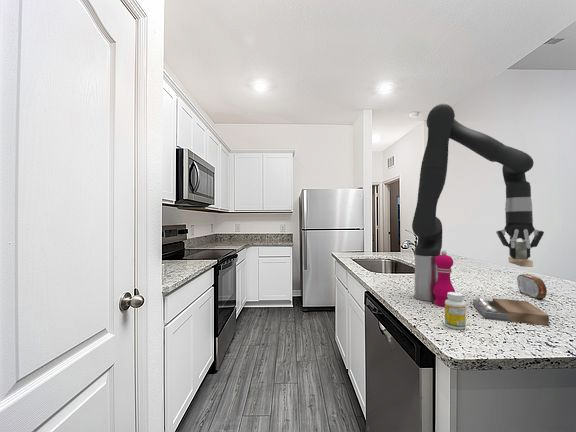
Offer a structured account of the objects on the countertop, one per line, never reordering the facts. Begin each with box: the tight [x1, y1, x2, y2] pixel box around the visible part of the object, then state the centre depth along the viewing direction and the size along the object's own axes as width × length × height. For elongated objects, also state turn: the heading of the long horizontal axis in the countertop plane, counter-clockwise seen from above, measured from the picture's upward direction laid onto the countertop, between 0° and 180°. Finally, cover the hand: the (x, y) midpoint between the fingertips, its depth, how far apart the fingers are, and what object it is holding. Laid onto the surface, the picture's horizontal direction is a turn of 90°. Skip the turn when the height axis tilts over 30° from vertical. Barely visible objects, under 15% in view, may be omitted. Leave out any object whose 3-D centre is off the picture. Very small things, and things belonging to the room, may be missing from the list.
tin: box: [516, 273, 548, 300], centre depth 118 cm, size 15×3×8 cm, turn 168°
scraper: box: [508, 241, 534, 268], centre depth 102 cm, size 3×14×8 cm, turn 157°
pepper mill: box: [433, 250, 456, 308], centre depth 106 cm, size 7×7×20 cm
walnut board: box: [491, 297, 550, 327], centre depth 94 cm, size 10×16×3 cm, turn 158°
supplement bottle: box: [444, 291, 467, 330], centre depth 84 cm, size 5×5×10 cm
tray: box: [472, 298, 509, 322], centre depth 97 cm, size 6×16×2 cm, turn 158°
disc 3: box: [483, 304, 499, 313], centre depth 93 cm, size 4×4×2 cm
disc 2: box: [479, 300, 494, 308], centre depth 97 cm, size 4×4×2 cm
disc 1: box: [476, 296, 490, 305], centre depth 102 cm, size 4×4×2 cm
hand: (519, 258), depth 102 cm, fingers closed on scraper, 3 cm apart
